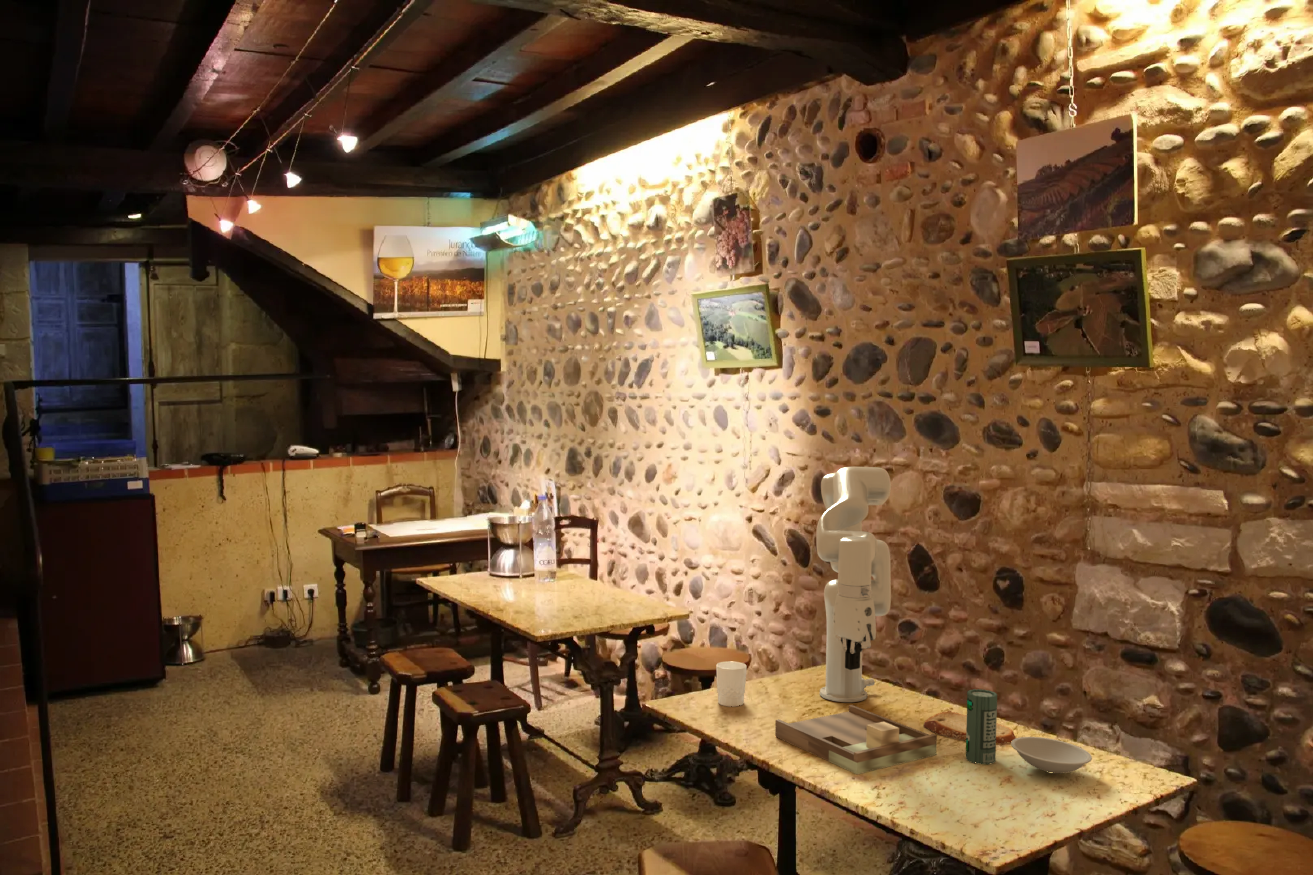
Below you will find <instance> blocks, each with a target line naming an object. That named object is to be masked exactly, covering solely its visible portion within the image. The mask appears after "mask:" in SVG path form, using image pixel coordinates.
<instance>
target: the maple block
mask: <svg viewBox="0 0 1313 875" xmlns="http://www.w3.org/2000/svg"><path fill="white" fill-rule="evenodd" d="M897 742H899V728H898V727H895V726H893V725H891V724H888V723H886V722H880V723H874V724H869V725H867V739H866V747H868V748H875V747H879V746H883V745H888V744H892V743H897Z"/></svg>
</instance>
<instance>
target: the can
mask: <svg viewBox="0 0 1313 875" xmlns="http://www.w3.org/2000/svg"><path fill="white" fill-rule="evenodd" d="M966 695H967V696H966V715H967V724H966V741H965V760H966V761H968V762H971V763H973V762H974V764H977V763H980V765H991V764H990V763H992V764H995V763H996V758H997V757H996V753H997V749H996V748H997V744H996V723H997V720H998V719H997V716H998V715H997V714H998V711H997V710H998V709H997V708H998V694H997V693H996V692H995V691H992V690H986V689H979V688H978V689H975V688H973V689H969V690H968V691H967V692H966ZM975 762H976V763H975Z"/></svg>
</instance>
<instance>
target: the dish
mask: <svg viewBox="0 0 1313 875" xmlns="http://www.w3.org/2000/svg"><path fill="white" fill-rule="evenodd" d="M1010 746H1011V747H1012V748H1013V750H1015V751H1016V753H1017V754H1018V755H1019V756H1020V757H1021V758H1022V759H1023V761H1025V762H1026V763H1027V764H1029V765H1030V766H1032V767H1034V768H1036V769H1038V770H1042V771H1044V772H1046V771H1048V772H1053V774H1068V773H1073V772H1075V771H1077V770H1079V769H1081V768H1082V767H1084V765H1085V766H1086V764H1089V763H1090V762H1091V761H1092V759H1093V756H1092V755H1091V753H1089V751H1087V750H1086V749H1084V748H1082V747H1080V746H1078V745H1076V744H1072V743H1070V742H1067V741H1062V740H1059V739H1055V738H1054V739H1053V738H1048V737H1042V736H1039V737H1038V736H1021V737H1016V739H1014V740H1012V742H1011V743H1010Z"/></svg>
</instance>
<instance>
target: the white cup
mask: <svg viewBox="0 0 1313 875" xmlns="http://www.w3.org/2000/svg"><path fill="white" fill-rule="evenodd" d="M715 666H716V693H717V703H718V704H719V705H721V706H724V707H731V706H732V707H739V705H740V706H742V705H743V703H745V694H746V681H747V678H746V677H747V665H746V664H745V663H744V662H739V661H731V660H730V661H720V662H717V664H716V665H715Z"/></svg>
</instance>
